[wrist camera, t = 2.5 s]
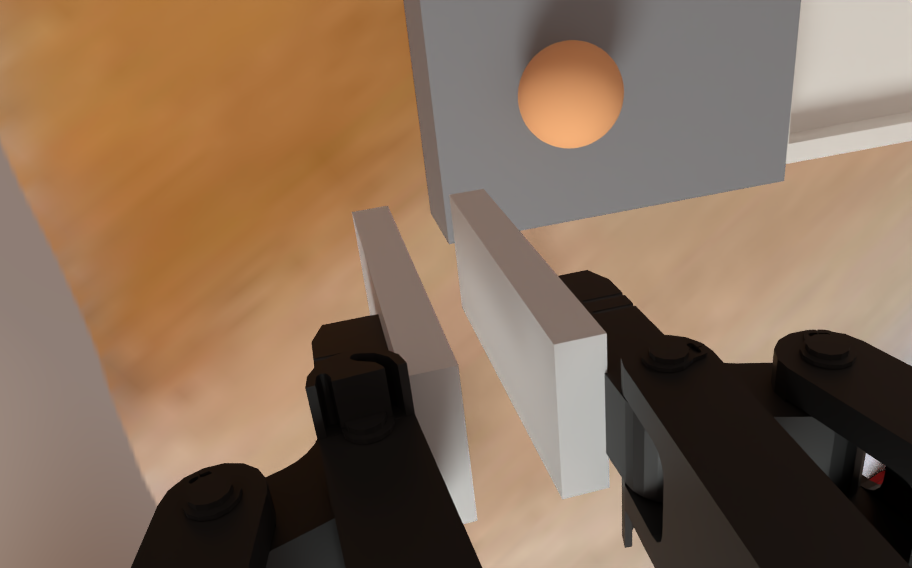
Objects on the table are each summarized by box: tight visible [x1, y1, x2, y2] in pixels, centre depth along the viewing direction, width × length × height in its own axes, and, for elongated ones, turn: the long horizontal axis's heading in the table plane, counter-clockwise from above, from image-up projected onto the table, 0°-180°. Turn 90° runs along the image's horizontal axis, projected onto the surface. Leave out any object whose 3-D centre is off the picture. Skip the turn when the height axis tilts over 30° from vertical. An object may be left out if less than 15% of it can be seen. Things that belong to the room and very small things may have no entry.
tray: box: [786, 0, 912, 164], centre depth 36 cm, size 14×12×2 cm
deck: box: [404, 0, 801, 244], centre depth 32 cm, size 16×12×4 cm
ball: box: [518, 40, 624, 149], centre depth 28 cm, size 4×4×4 cm
